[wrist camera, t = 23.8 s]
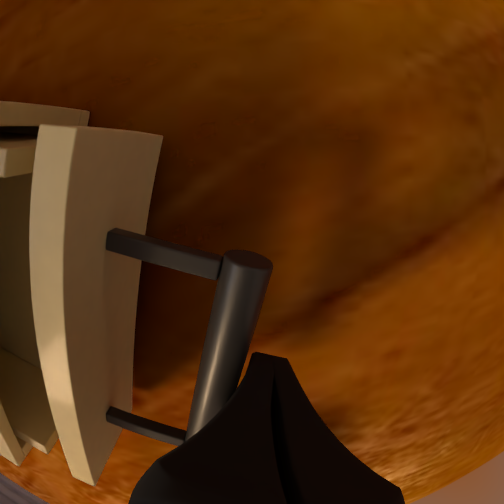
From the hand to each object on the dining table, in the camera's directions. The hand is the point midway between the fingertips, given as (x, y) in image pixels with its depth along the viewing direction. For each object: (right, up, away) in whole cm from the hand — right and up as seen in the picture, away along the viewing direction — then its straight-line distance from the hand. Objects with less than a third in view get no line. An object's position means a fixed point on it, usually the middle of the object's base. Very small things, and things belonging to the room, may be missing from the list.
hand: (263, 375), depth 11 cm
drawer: (-10, +3, +2) cm, 10 cm away
